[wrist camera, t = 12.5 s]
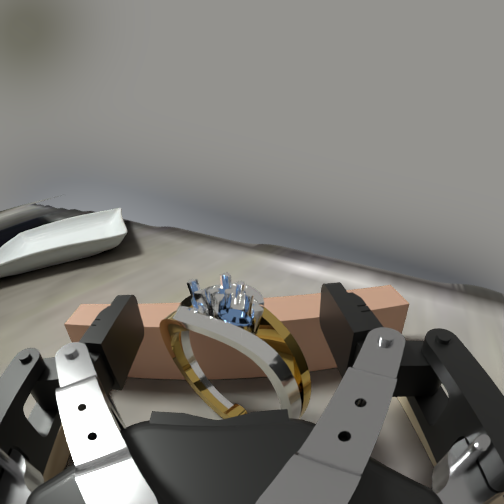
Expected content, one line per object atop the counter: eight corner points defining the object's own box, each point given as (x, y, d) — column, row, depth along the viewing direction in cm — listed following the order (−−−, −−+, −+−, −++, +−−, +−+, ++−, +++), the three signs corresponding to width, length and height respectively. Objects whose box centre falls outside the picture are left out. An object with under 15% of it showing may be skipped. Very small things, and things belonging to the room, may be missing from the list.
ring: (312, 434, 11) (333, 294, 8) (270, 479, 9) (267, 351, 6) (213, 376, 15) (191, 250, 13) (171, 404, 13) (130, 274, 10)
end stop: (380, 334, 18) (390, 285, 16) (395, 355, 16) (409, 303, 14) (98, 350, 17) (81, 304, 16) (86, 372, 15) (64, 324, 13)
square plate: (123, 221, 60) (120, 205, 58) (132, 256, 37) (127, 230, 36) (22, 245, 48) (19, 229, 47) (-19, 293, 25) (-27, 269, 24)
